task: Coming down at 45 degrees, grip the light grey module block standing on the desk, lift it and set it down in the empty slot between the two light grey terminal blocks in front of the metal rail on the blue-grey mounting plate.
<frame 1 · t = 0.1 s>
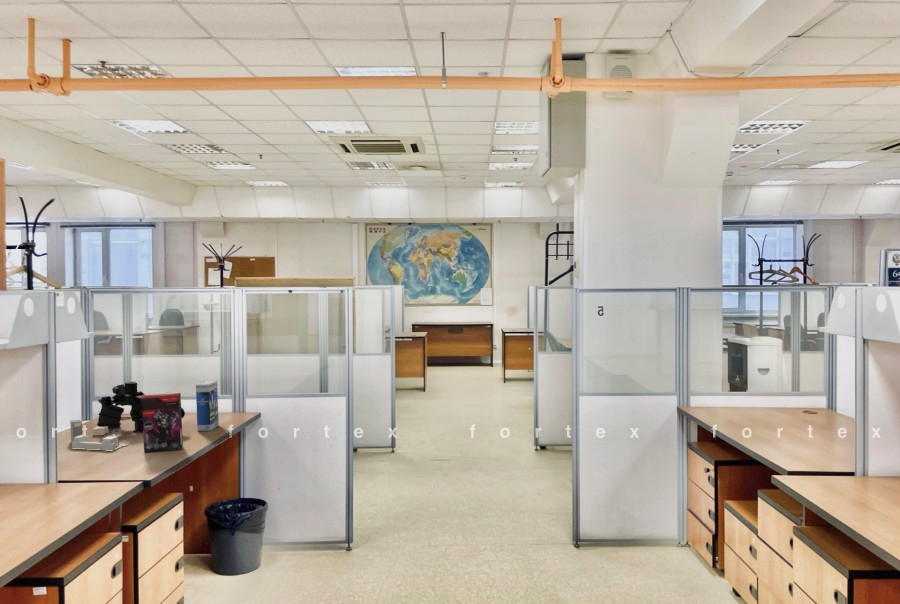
hand: (105, 399, 348), 17 cm above the table, tool horizontal, fingers open, 9 cm apart
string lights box: (208, 428, 344), on the table
rail plate: (96, 447, 309), on the table
module: (76, 442, 319), on the table
graphics card box: (163, 450, 301), on the table
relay: (100, 434, 334), on the table
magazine: (111, 428, 347), on the table
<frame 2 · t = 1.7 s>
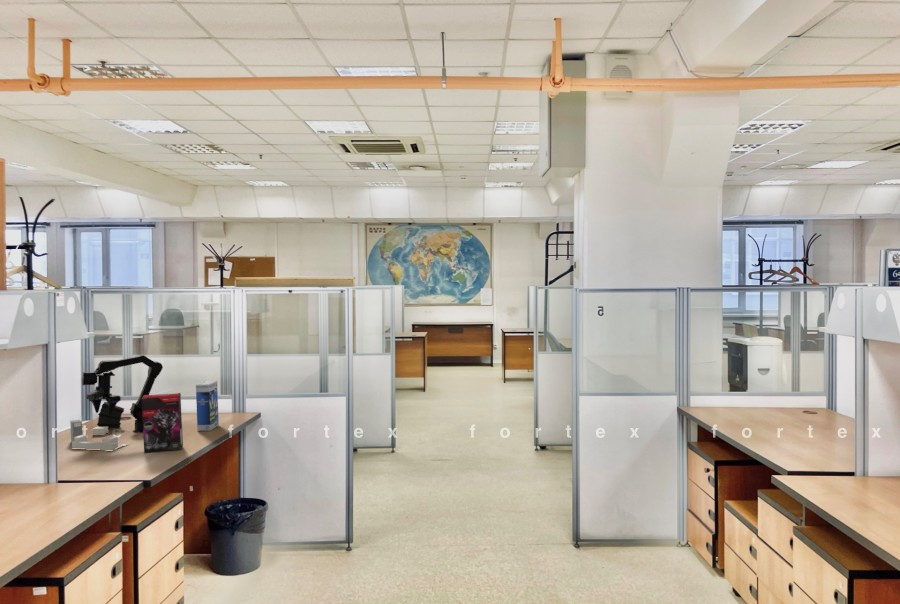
hand: (103, 413, 328), 13 cm above the table, tool pointing down, fingers open, 9 cm apart
nothing on the table moved.
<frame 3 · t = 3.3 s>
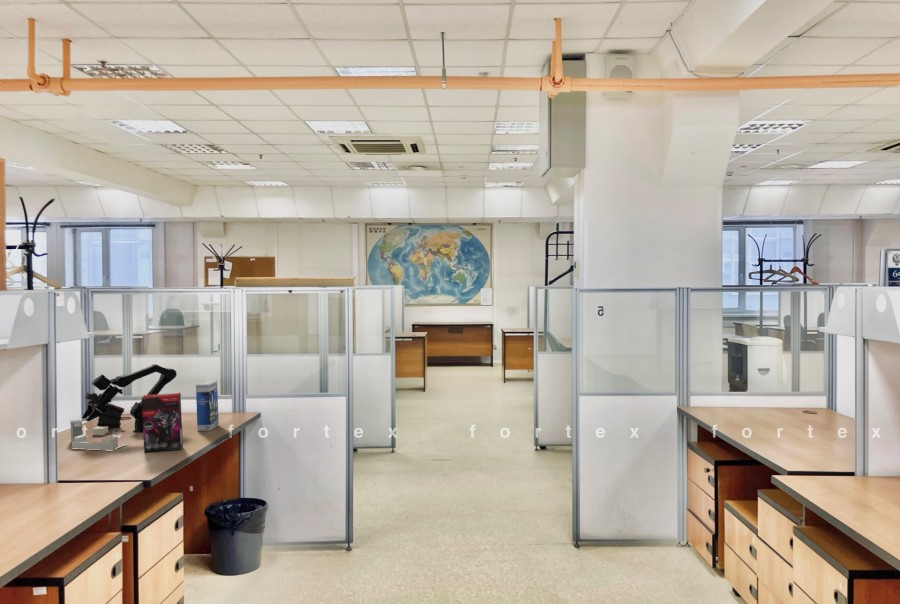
hand: (84, 419, 321), 11 cm above the table, tool tilted 45°, fingers open, 9 cm apart
nothing on the table moved.
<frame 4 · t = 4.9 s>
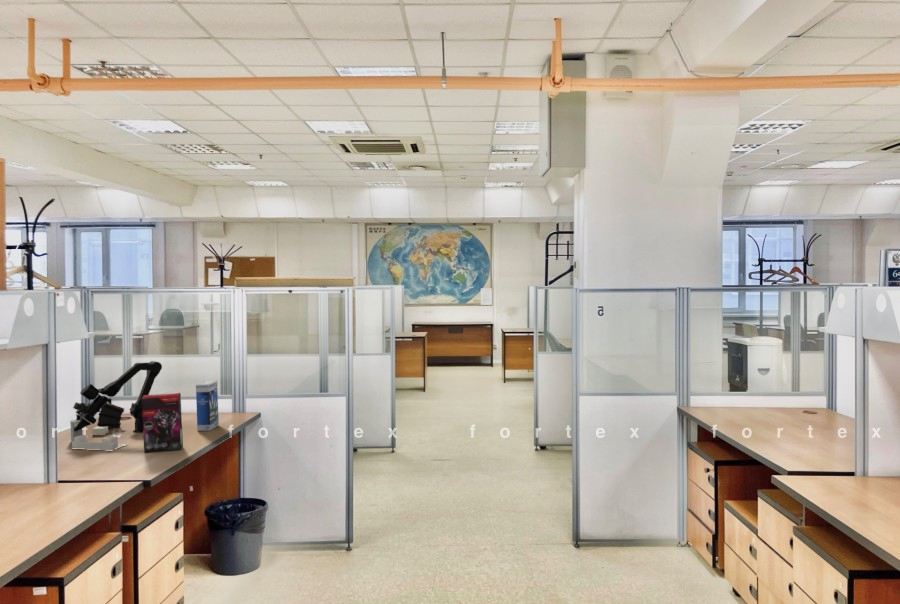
hand: (73, 429, 318), 7 cm above the table, tool tilted 45°, fingers closed on module, 5 cm apart
module: (76, 442, 319), on the table, touching gripper
everything else where it was.
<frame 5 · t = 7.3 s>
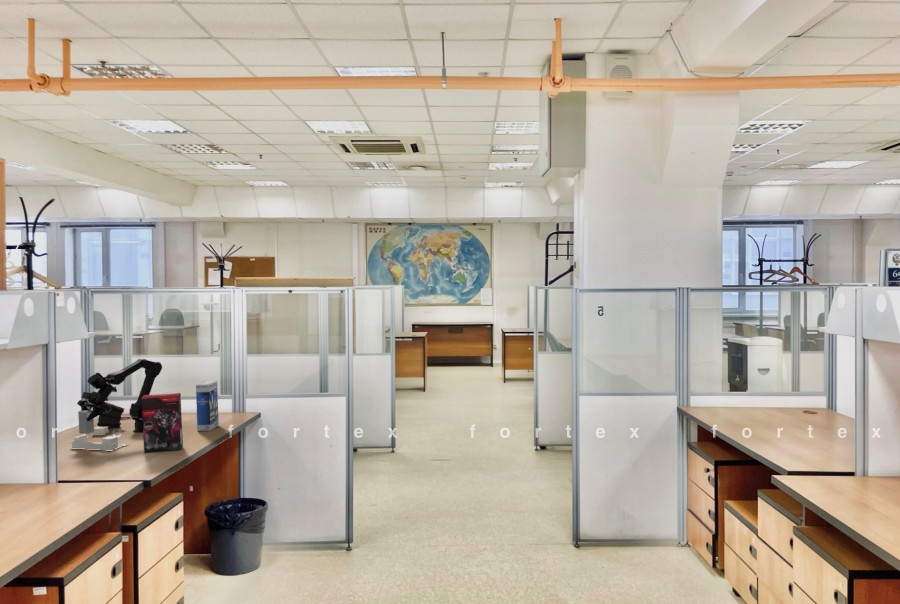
hand: (83, 420, 309), 13 cm above the table, tool tilted 45°, fingers closed on module, 5 cm apart
module: (86, 432, 311), point 7 cm above the table, touching gripper
everything else where it was.
when the fingers open (8 cm above the table, at t = 9.6 s): module stays where it is, resting on rail plate.
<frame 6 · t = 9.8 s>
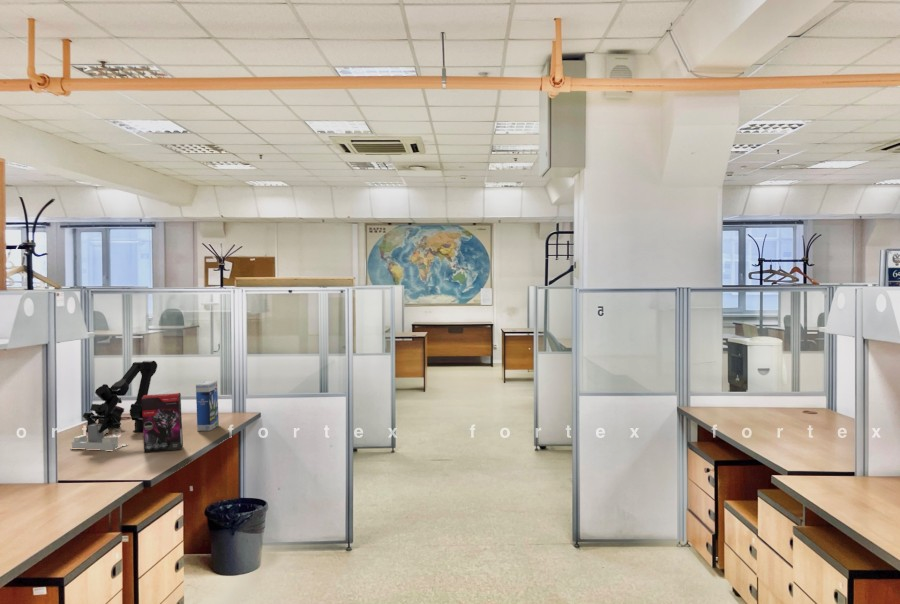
hand: (93, 432, 307), 8 cm above the table, tool tilted 45°, fingers open, 7 cm apart
module: (96, 446, 309), resting on rail plate
everything else where it was.
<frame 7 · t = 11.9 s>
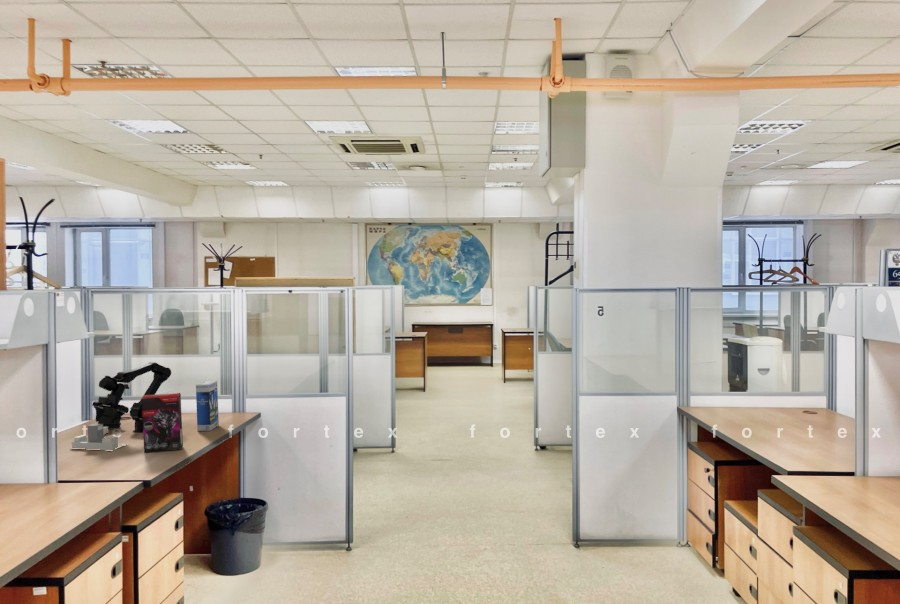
hand: (103, 422, 319), 10 cm above the table, tool tilted 30°, fingers open, 9 cm apart
nothing on the table moved.
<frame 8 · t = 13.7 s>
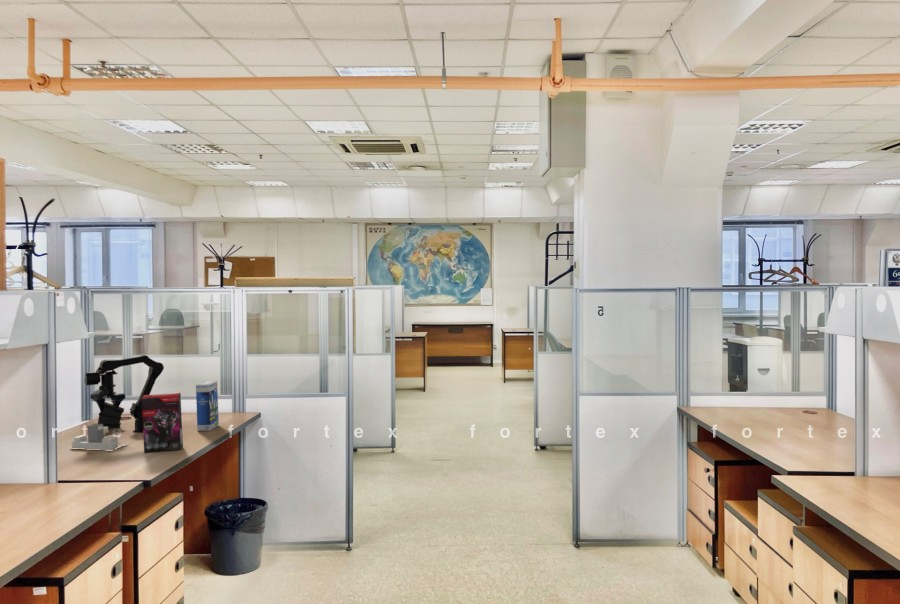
hand: (108, 412, 329), 13 cm above the table, tool pointing down, fingers open, 9 cm apart
nothing on the table moved.
at the end: module 0.2 cm off-centre on the rail plate, point 0.3 cm above the rail plate's base; module tilted 0°; the gripper is holding nothing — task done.
